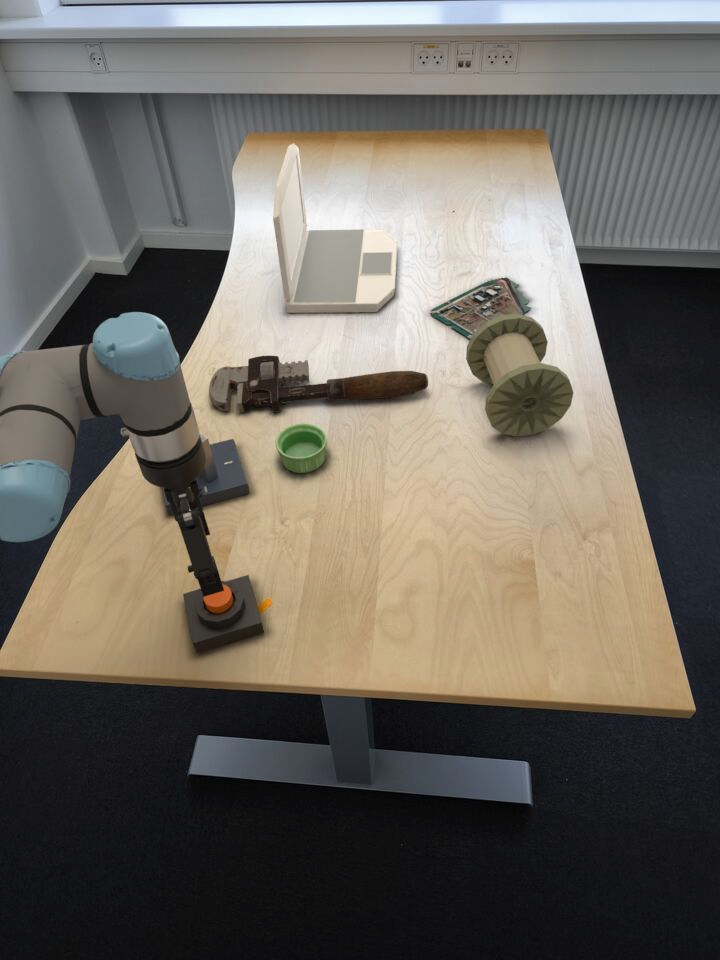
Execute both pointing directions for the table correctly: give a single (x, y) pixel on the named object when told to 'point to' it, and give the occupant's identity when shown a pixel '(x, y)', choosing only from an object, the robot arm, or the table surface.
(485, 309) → the circuit board
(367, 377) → the pipe wrench
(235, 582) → the orange push button box
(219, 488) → the dark grey dial base
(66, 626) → the table surface
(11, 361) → the robot arm
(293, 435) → the ramekin
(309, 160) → the table surface
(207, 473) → the grey upright slab
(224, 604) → the release button
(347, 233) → the laptop
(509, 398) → the spool
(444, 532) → the table surface
